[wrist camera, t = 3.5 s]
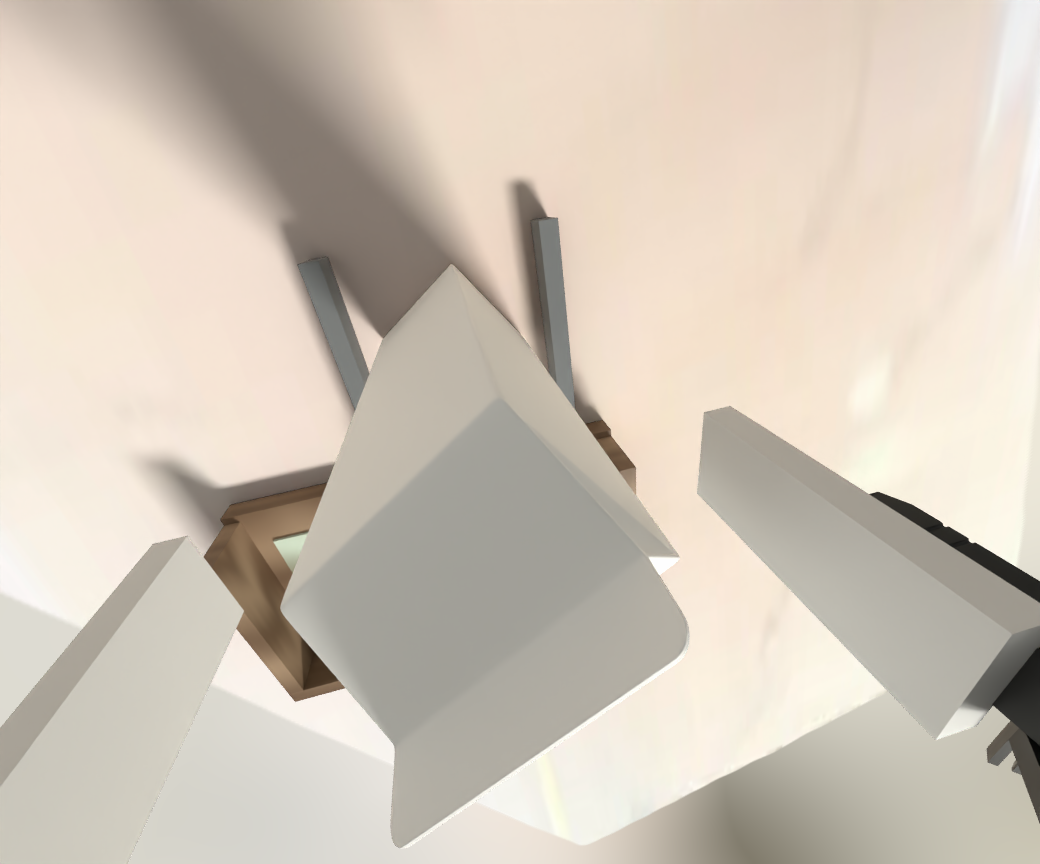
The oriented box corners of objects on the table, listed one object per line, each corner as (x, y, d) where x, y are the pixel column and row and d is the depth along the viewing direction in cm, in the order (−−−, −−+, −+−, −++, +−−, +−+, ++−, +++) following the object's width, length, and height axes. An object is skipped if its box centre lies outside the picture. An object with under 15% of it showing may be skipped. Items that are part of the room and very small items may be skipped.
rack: (230, 505, 27) (187, 567, 22) (602, 420, 29) (635, 460, 25) (314, 633, 34) (295, 701, 29) (610, 556, 36) (636, 608, 32)
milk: (522, 335, 25) (798, 705, 7) (456, 401, 27) (525, 876, 8) (449, 260, 23) (558, 528, 4) (378, 338, 24) (188, 840, 5)
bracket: (308, 260, 21) (297, 264, 20) (548, 217, 22) (557, 217, 21) (381, 450, 27) (377, 467, 26) (567, 409, 28) (576, 422, 27)
